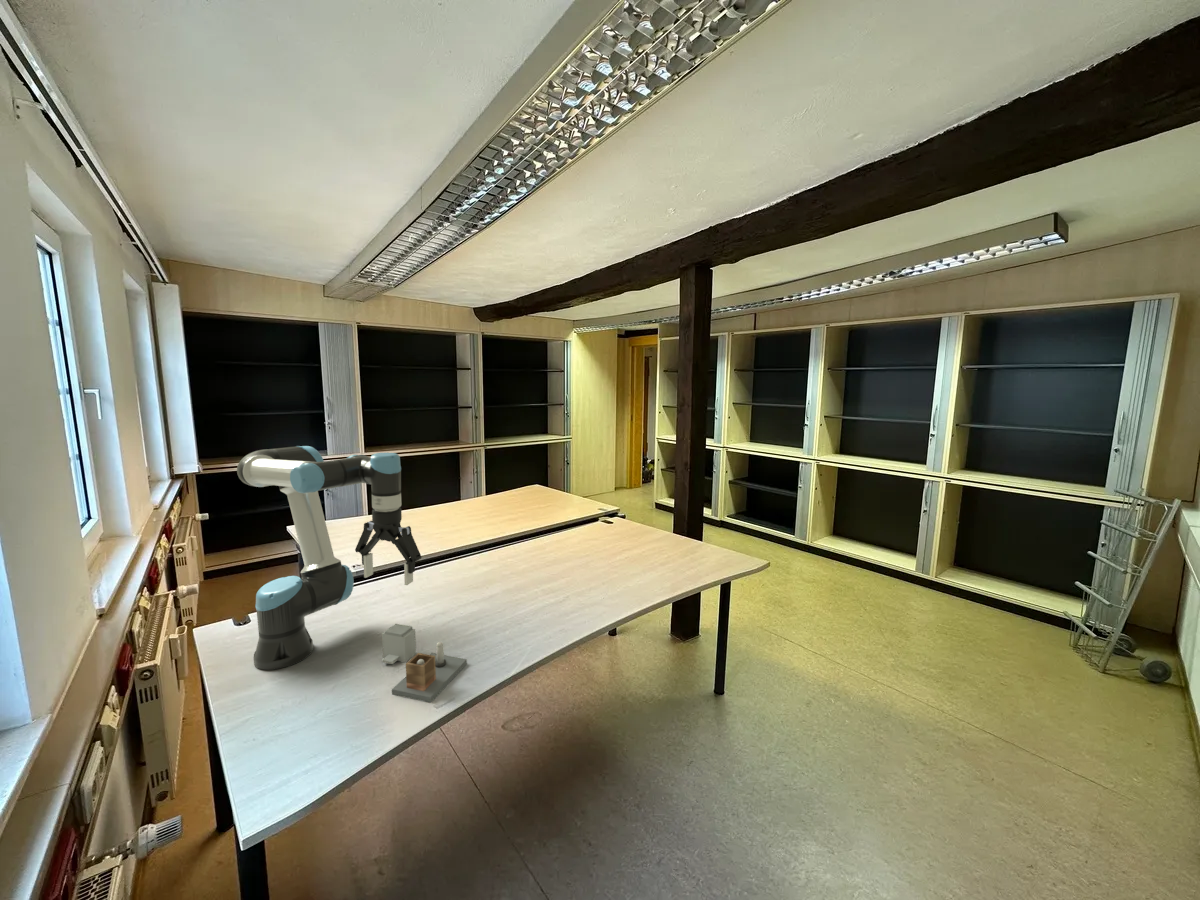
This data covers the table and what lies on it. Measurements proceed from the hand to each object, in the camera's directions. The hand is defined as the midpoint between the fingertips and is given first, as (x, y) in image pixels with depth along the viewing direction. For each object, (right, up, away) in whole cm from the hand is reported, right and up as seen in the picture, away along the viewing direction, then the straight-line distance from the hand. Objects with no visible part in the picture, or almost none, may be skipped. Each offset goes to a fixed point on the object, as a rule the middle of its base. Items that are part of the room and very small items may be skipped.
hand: (388, 579), depth 133 cm
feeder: (-2, -27, +9) cm, 28 cm away
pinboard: (+12, -28, 0) cm, 31 cm away
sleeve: (+11, -27, -5) cm, 30 cm away
